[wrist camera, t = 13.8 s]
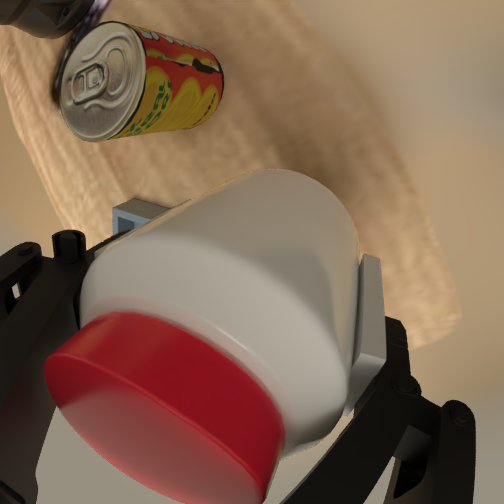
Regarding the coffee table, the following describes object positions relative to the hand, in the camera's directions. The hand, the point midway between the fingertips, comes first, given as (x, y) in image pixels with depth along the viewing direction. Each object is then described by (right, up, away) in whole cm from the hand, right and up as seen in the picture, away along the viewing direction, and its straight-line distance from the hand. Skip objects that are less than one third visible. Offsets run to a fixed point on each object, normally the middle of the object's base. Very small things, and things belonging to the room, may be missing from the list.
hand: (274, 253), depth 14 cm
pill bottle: (0, 0, 0) cm, 0 cm away
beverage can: (-8, +16, +13) cm, 22 cm away
